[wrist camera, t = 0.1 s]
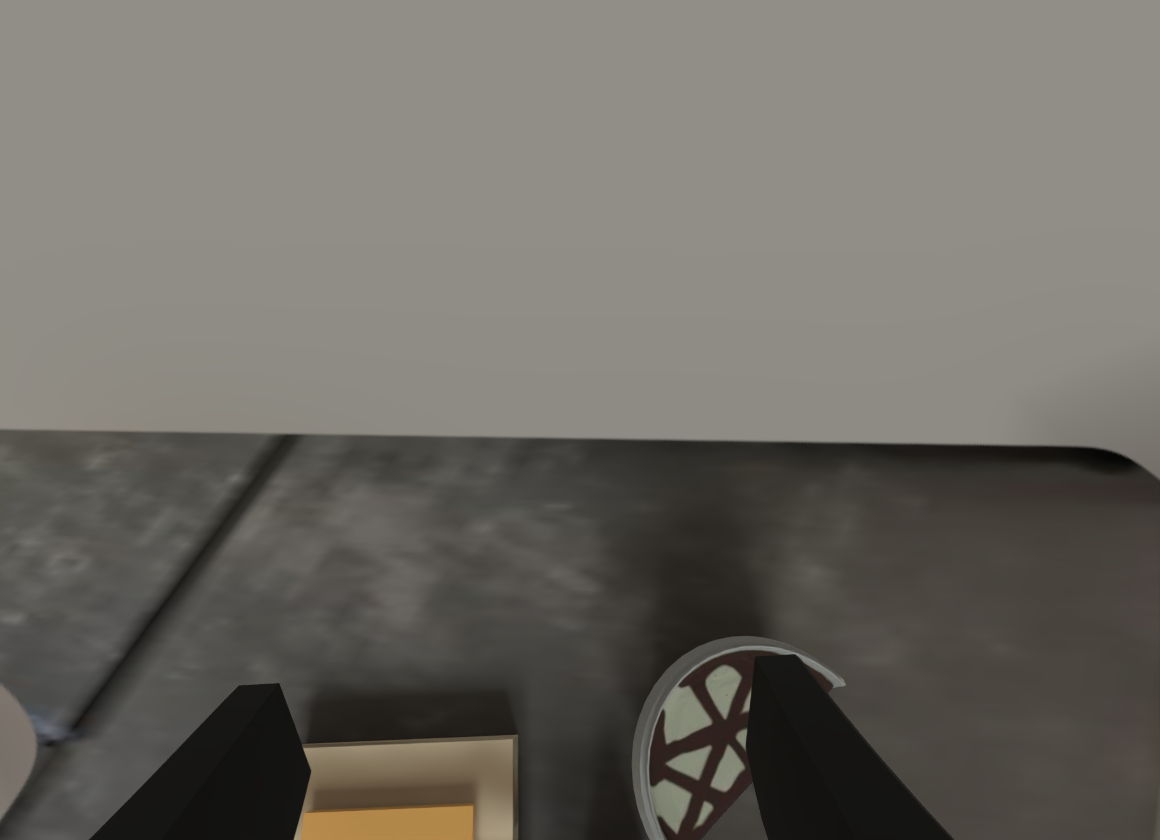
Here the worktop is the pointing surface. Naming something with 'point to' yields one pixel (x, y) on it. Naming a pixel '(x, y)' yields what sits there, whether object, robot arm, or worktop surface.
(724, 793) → the food container
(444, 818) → the shutter
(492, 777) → the socket block
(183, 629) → the worktop surface
